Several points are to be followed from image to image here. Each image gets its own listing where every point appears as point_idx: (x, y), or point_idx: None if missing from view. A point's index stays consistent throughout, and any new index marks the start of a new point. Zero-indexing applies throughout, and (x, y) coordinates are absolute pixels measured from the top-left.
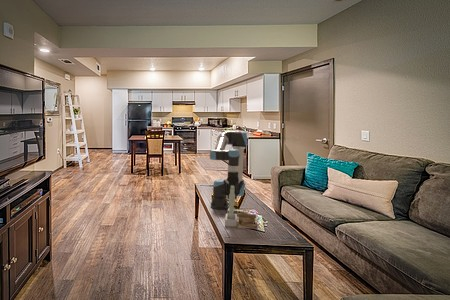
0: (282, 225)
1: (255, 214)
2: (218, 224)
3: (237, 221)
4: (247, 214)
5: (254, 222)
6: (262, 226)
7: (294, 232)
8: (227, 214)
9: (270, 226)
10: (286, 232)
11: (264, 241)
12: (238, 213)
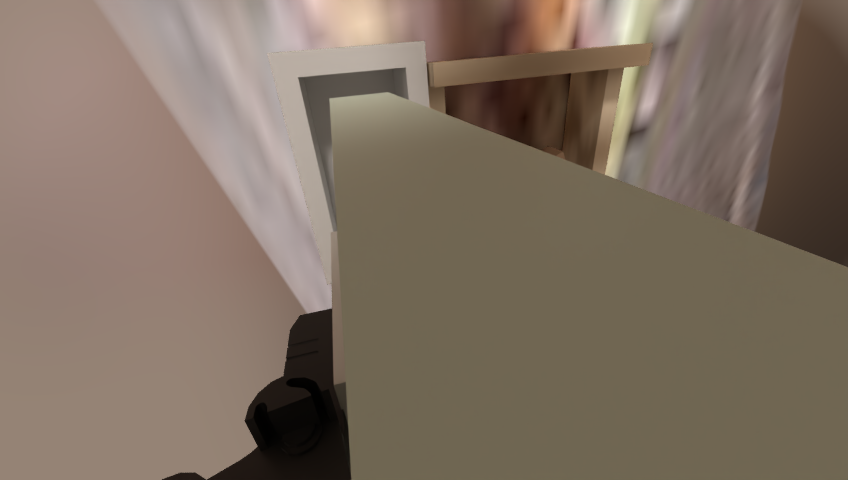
0: (761, 74)
1: (642, 54)
2: (250, 209)
3: None
4: (555, 73)
5: (575, 98)
6: (614, 144)
7: (760, 198)
8: (298, 76)
9: (670, 126)
10: (718, 213)
11: None
12: (450, 67)
